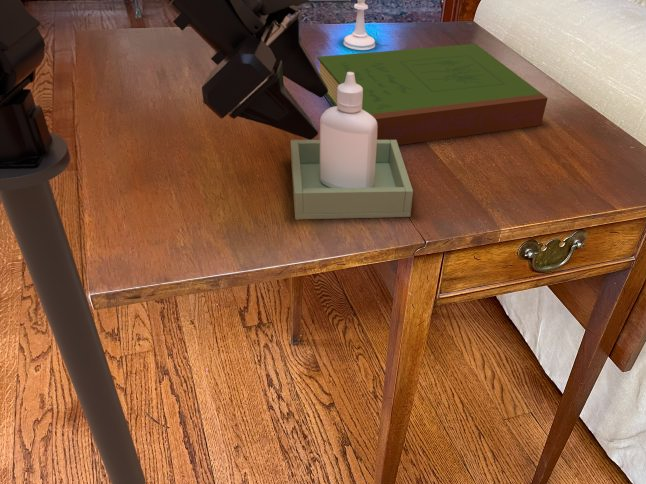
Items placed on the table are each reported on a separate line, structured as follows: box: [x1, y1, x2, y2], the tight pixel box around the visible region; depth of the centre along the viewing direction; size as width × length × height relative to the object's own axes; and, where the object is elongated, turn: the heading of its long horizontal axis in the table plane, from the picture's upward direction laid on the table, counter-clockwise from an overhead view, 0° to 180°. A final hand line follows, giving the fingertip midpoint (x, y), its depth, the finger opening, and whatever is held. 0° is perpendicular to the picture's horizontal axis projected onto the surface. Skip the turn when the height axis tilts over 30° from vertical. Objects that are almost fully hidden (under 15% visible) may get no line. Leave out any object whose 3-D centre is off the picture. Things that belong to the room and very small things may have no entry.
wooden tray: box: [290, 139, 414, 221], centre depth 67 cm, size 12×11×3 cm
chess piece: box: [343, 0, 376, 51], centre depth 96 cm, size 5×5×10 cm
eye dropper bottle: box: [319, 72, 378, 188], centre depth 63 cm, size 4×6×12 cm
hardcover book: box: [317, 43, 549, 146], centre depth 84 cm, size 25×19×4 cm
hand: (320, 114), depth 62 cm, fingers open, 9 cm apart
